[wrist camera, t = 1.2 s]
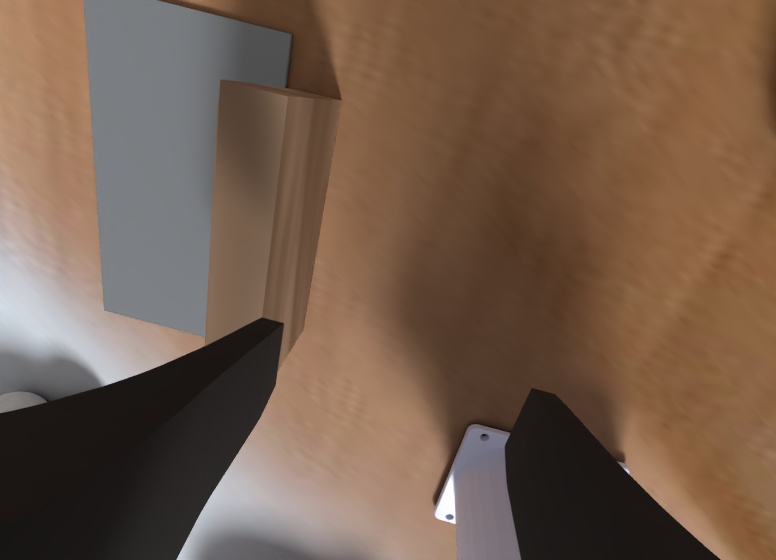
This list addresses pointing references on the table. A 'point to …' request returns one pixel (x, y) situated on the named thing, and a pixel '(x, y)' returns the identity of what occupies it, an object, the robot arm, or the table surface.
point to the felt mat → (163, 145)
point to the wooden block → (267, 205)
